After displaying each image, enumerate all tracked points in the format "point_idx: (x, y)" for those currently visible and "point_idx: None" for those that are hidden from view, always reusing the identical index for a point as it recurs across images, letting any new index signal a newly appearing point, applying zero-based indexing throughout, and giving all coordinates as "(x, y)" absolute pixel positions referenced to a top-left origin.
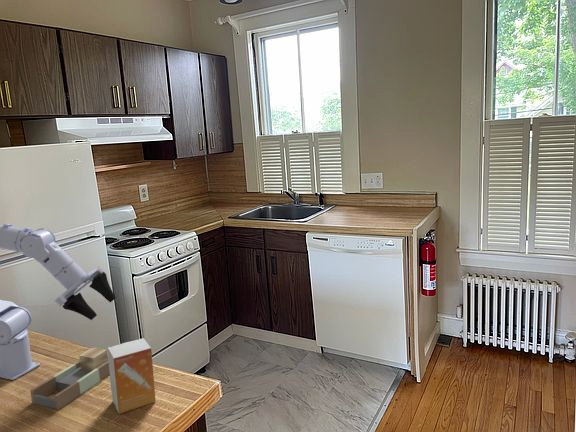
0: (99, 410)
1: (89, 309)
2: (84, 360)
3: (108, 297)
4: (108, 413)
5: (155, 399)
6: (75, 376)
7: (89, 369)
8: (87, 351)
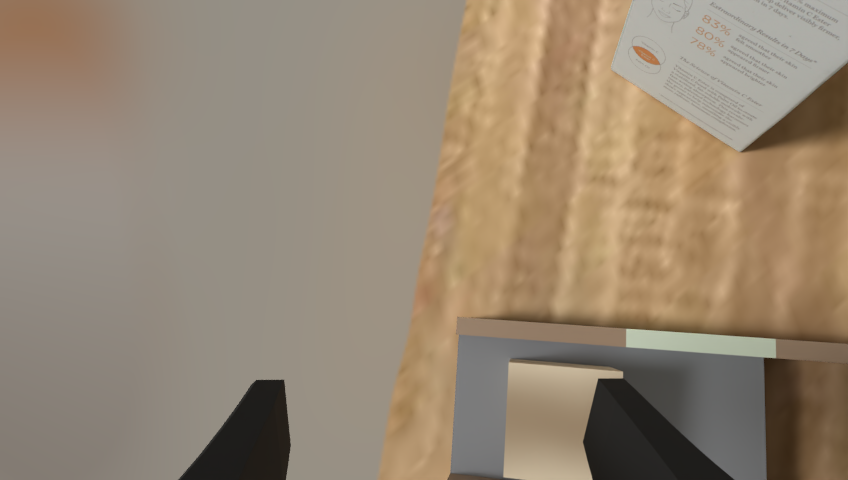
0: (817, 162)
1: (678, 441)
2: None
3: (276, 470)
4: (821, 110)
5: None
6: (686, 437)
7: None
8: (560, 473)
